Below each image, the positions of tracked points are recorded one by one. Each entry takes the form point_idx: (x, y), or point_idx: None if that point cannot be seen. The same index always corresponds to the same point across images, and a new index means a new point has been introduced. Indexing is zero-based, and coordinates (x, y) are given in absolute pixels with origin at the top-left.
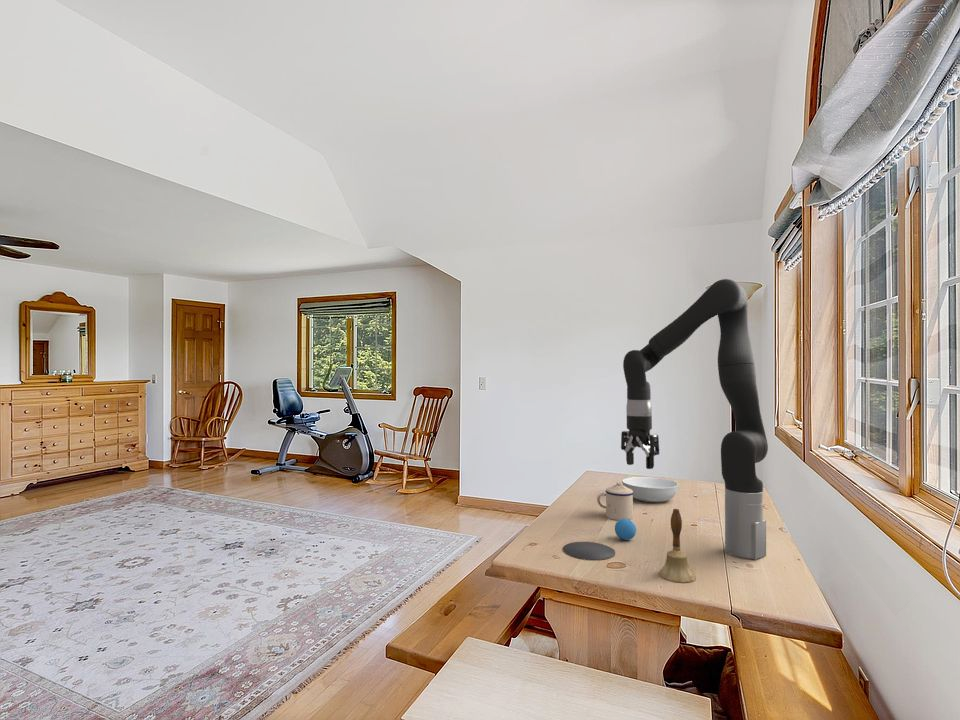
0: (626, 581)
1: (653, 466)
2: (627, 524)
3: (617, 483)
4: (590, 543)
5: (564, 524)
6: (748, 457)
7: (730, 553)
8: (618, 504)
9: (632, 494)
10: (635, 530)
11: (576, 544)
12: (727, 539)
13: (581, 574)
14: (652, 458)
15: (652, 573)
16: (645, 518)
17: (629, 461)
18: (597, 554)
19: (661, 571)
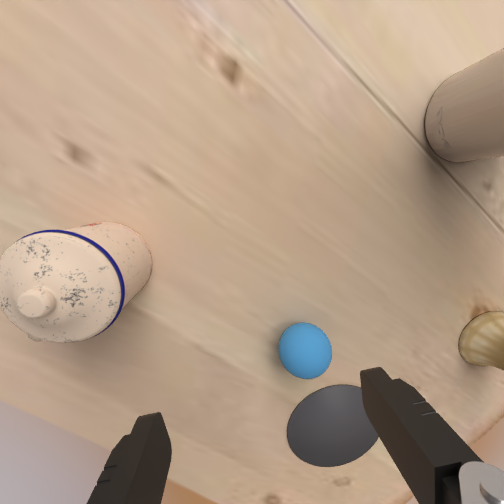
0: (467, 419)
1: (403, 382)
2: (328, 364)
3: (40, 317)
4: (303, 413)
5: None
6: None
7: (461, 161)
8: (130, 299)
9: (106, 251)
10: (325, 334)
11: (300, 438)
12: (482, 156)
13: None
14: (464, 460)
15: (461, 370)
16: (137, 187)
17: (162, 469)
18: (360, 421)
19: (478, 364)
